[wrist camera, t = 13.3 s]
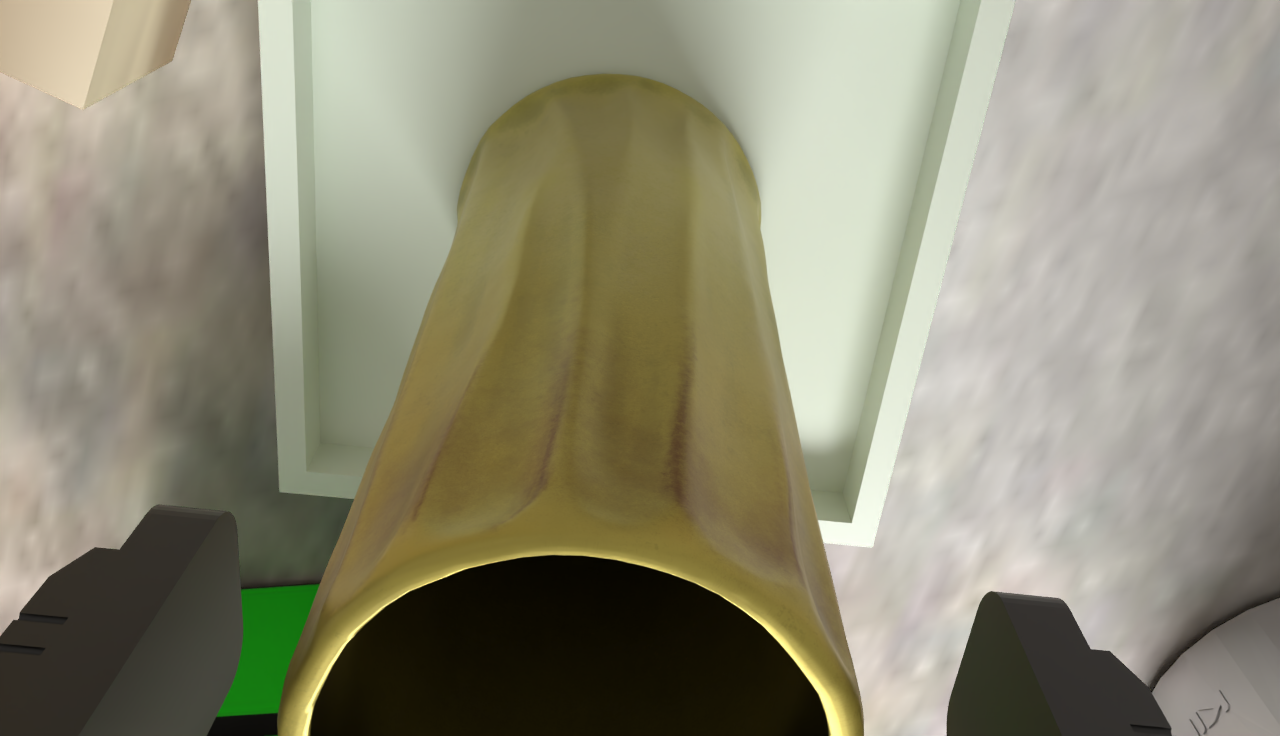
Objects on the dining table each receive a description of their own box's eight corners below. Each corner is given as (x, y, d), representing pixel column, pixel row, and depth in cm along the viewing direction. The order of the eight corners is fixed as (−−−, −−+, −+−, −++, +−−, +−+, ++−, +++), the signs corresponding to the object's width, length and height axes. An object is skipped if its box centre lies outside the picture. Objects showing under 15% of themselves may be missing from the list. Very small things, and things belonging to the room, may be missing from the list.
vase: (446, 333, 23) (218, 960, 11) (474, 44, 21) (211, 431, 8) (725, 374, 24) (824, 1022, 11) (790, 98, 21) (1016, 543, 8)
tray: (1004, -90, 20) (1036, -80, 19) (858, 502, 26) (872, 547, 25) (282, -181, 19) (250, -180, 18) (301, 449, 25) (279, 492, 24)
